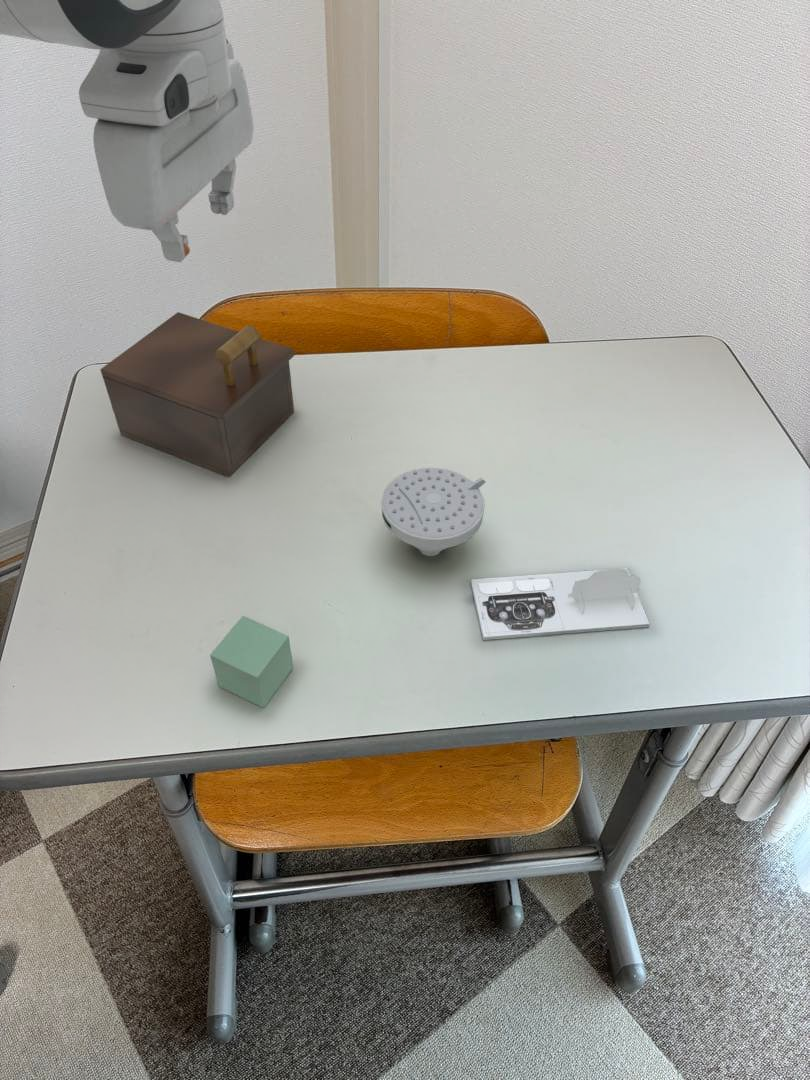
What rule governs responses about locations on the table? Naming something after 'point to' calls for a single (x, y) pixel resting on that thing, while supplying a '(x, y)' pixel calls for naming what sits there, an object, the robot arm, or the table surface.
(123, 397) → the chest
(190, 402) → the lid
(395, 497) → the showerhead
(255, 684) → the soap block
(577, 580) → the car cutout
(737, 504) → the table surface
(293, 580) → the table surface
